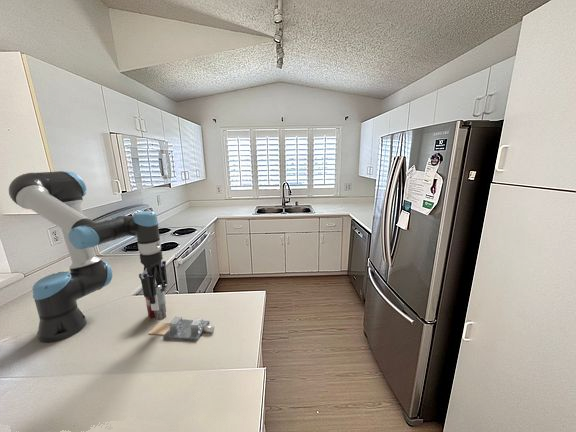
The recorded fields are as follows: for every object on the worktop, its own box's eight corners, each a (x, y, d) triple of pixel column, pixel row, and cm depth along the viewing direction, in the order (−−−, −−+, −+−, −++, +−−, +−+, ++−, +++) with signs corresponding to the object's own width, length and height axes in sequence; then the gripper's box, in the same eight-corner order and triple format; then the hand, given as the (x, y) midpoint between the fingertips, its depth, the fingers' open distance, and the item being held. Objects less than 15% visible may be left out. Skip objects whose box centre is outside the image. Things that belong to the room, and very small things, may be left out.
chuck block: (163, 338, 98) (161, 328, 97) (178, 321, 109) (177, 311, 108) (207, 341, 96) (206, 331, 95) (218, 323, 107) (217, 313, 106)
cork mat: (148, 334, 101) (148, 333, 101) (159, 323, 108) (159, 322, 108) (165, 335, 100) (164, 334, 100) (174, 324, 107) (174, 323, 107)
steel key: (150, 321, 100) (145, 289, 97) (154, 315, 104) (149, 284, 101) (167, 319, 101) (162, 287, 98) (170, 314, 105) (166, 283, 102)
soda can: (161, 308, 119) (158, 284, 116) (169, 313, 114) (166, 289, 112) (145, 315, 113) (141, 291, 111) (152, 321, 109) (148, 296, 106)
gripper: (145, 260, 88) (154, 320, 93) (172, 244, 104) (179, 295, 109) (125, 260, 89) (135, 319, 94) (155, 244, 105) (162, 295, 110)
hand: (159, 306), depth 102 cm, fingers closed on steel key, 4 cm apart
